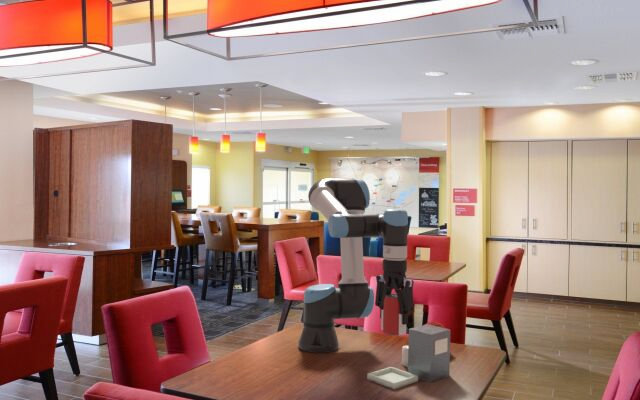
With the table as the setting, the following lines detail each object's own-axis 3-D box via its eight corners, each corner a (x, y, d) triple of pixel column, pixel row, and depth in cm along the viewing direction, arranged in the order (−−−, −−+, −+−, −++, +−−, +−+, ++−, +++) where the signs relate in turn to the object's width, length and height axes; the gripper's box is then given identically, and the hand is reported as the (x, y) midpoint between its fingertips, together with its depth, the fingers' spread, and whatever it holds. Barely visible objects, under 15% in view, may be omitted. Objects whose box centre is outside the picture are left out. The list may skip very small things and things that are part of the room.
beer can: (403, 336, 173) (404, 297, 173) (382, 335, 174) (382, 296, 174) (404, 331, 179) (405, 294, 179) (383, 330, 181) (384, 292, 181)
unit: (406, 374, 183) (407, 328, 183) (426, 368, 190) (427, 324, 189) (430, 382, 176) (431, 334, 176) (450, 375, 182) (451, 329, 182)
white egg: (398, 364, 194) (399, 347, 193) (408, 361, 197) (408, 344, 197) (410, 368, 190) (410, 350, 190) (419, 365, 193) (420, 347, 193)
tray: (367, 379, 178) (367, 373, 178) (391, 372, 185) (391, 366, 185) (394, 389, 169) (394, 383, 169) (417, 381, 177) (418, 375, 177)
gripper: (364, 256, 181) (362, 327, 182) (411, 263, 167) (409, 340, 167) (380, 255, 186) (378, 324, 187) (427, 261, 171) (425, 336, 172)
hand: (393, 331), depth 177 cm, fingers closed on beer can, 7 cm apart
